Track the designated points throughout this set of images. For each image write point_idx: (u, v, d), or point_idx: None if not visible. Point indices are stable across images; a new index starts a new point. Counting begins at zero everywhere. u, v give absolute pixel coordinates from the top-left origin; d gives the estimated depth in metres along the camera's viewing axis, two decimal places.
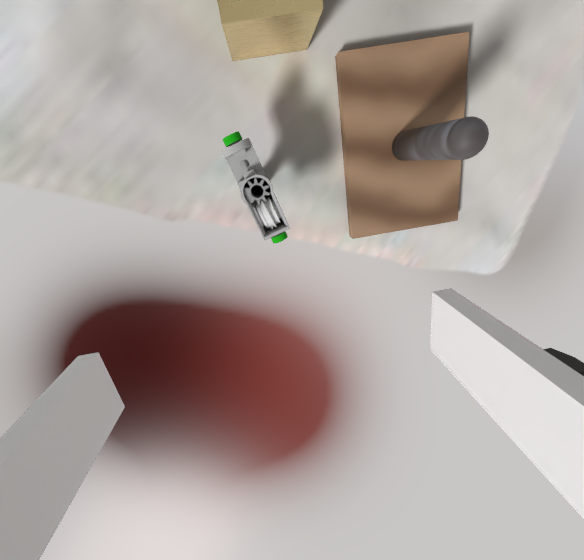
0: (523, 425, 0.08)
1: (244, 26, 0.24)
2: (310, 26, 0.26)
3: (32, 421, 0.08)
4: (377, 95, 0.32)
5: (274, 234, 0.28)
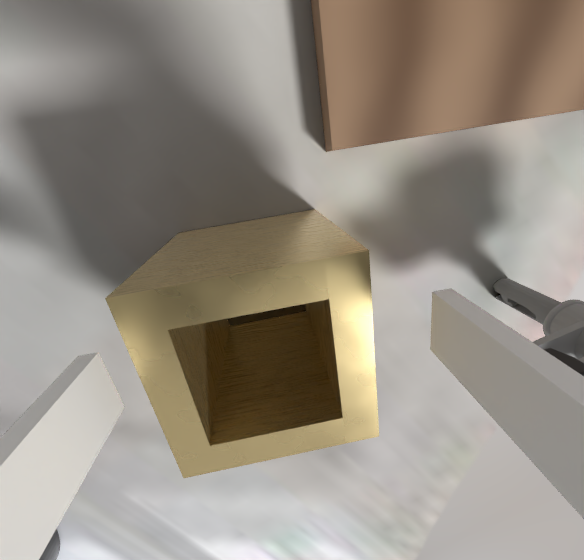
0: (523, 426, 0.08)
1: None
2: None
3: (32, 421, 0.08)
4: (418, 43, 0.14)
5: None
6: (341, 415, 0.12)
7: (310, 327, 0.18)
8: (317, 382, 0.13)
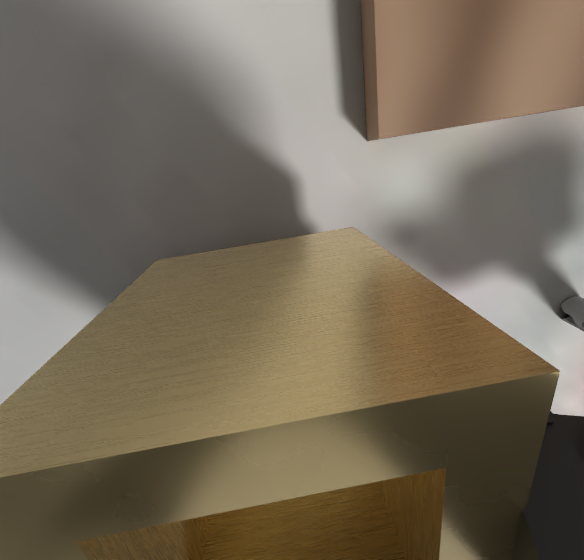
0: None
1: None
2: None
3: None
4: None
5: None
6: None
7: None
8: (370, 522, 0.08)
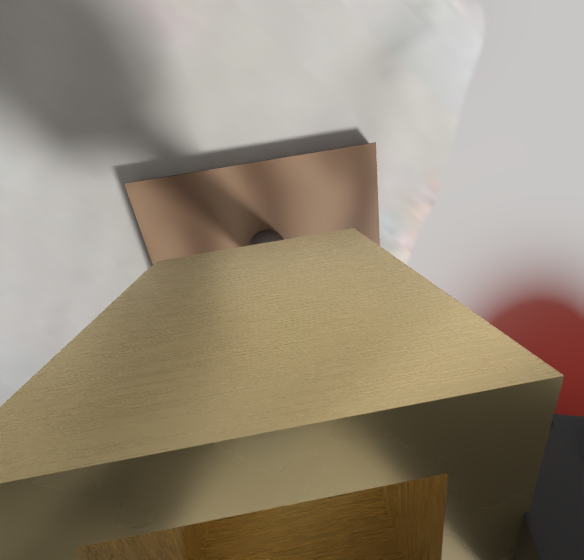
0: None
1: None
2: None
3: None
4: None
5: None
6: None
7: None
8: (370, 525, 0.08)
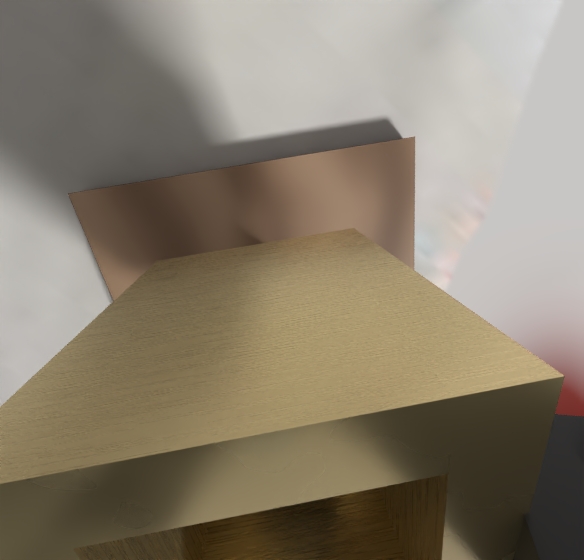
0: None
1: None
2: None
3: None
4: None
5: None
6: None
7: None
8: (371, 526, 0.08)
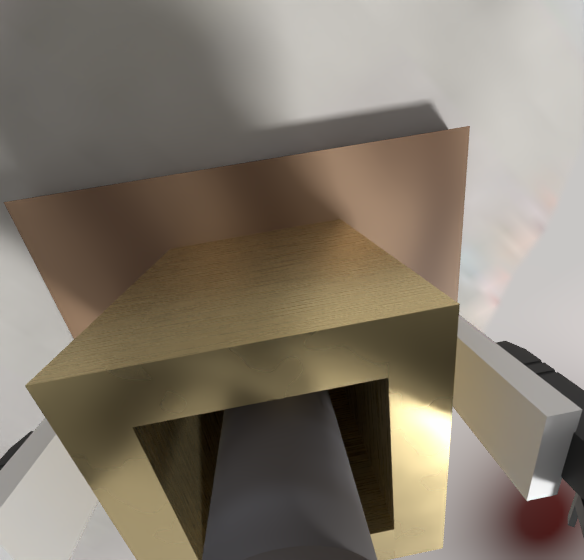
0: (476, 412, 0.08)
1: None
2: None
3: None
4: None
5: None
6: (391, 522, 0.08)
7: None
8: (350, 458, 0.10)
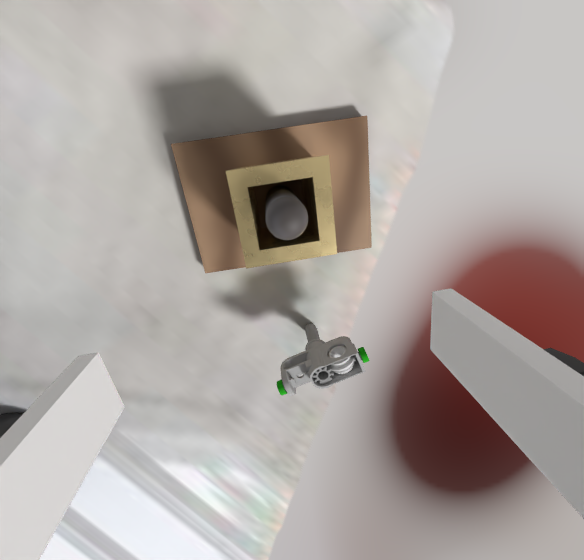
0: (523, 425, 0.08)
1: None
2: None
3: (32, 421, 0.08)
4: (236, 235, 0.33)
5: (361, 364, 0.31)
6: (319, 241, 0.25)
7: (308, 224, 0.32)
8: (309, 235, 0.27)
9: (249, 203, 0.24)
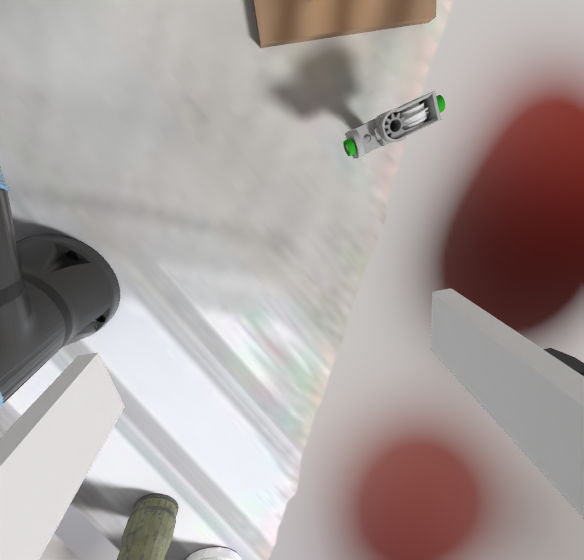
0: (523, 425, 0.08)
1: None
2: None
3: (32, 421, 0.08)
4: None
5: (437, 108, 0.29)
6: None
7: None
8: None
9: None
